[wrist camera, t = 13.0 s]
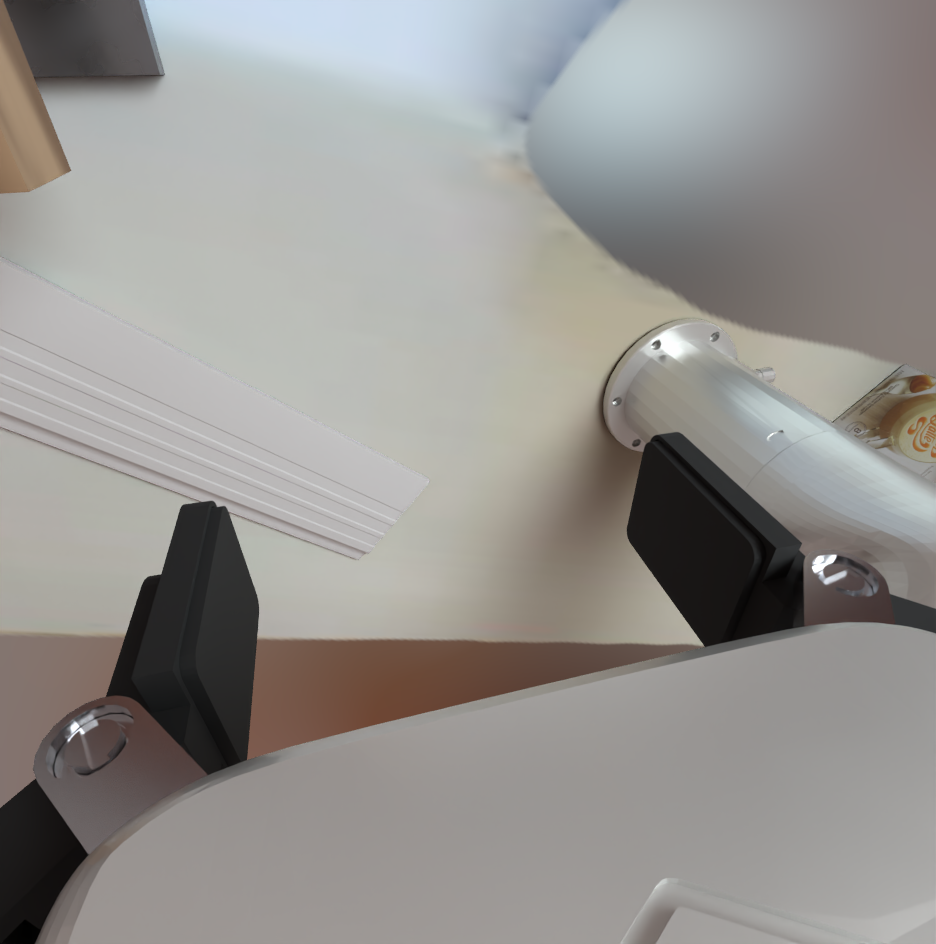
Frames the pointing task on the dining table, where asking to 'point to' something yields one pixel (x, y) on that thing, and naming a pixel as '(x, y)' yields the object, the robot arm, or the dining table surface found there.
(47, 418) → the baseboard molding
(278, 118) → the dining table surface
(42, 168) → the tan long block
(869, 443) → the coffee box
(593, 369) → the dining table surface
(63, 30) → the ridge stand
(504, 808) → the robot arm
